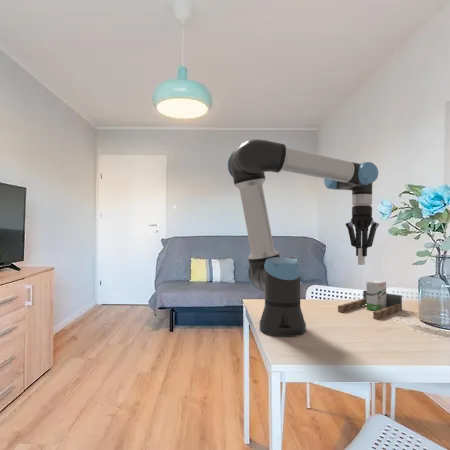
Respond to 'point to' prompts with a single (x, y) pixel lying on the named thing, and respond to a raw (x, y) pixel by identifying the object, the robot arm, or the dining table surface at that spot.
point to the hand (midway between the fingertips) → (361, 264)
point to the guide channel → (391, 307)
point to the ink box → (376, 295)
